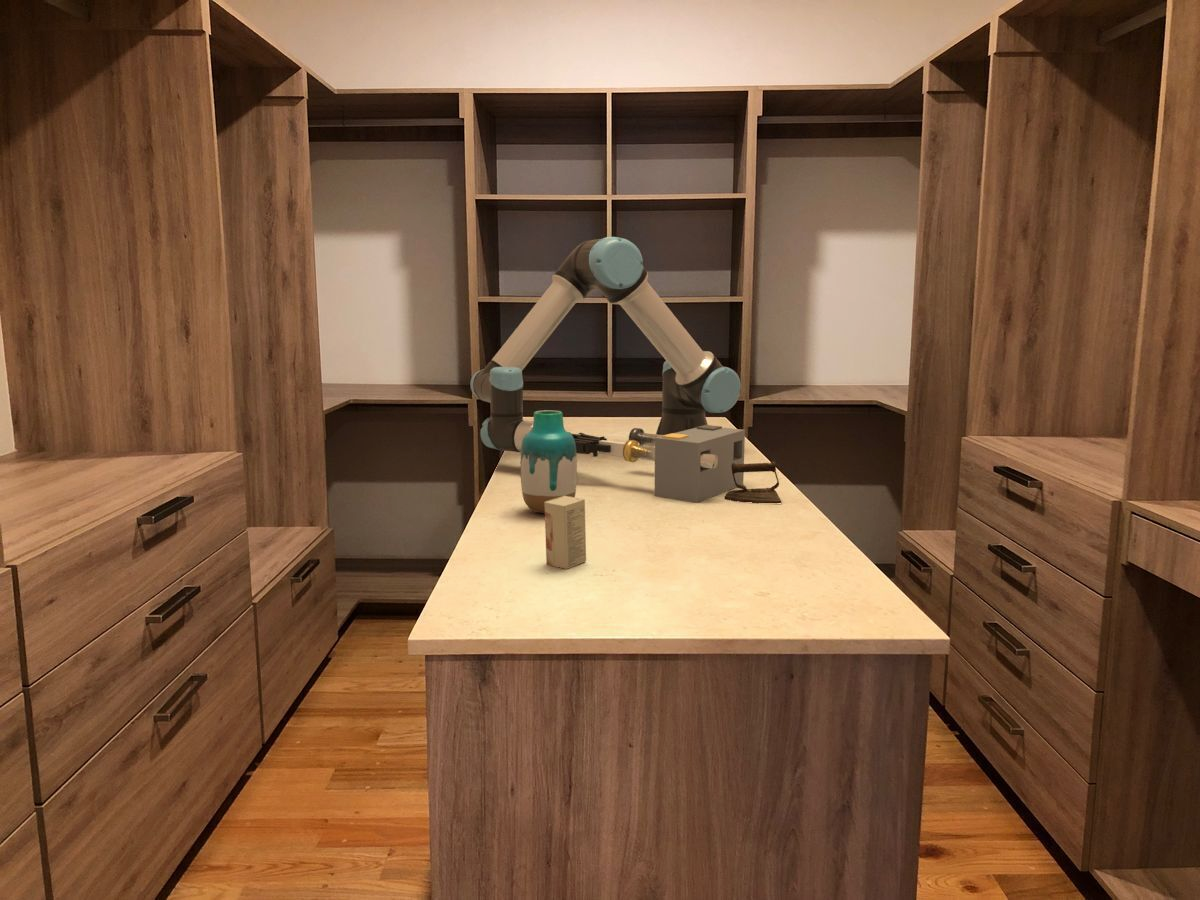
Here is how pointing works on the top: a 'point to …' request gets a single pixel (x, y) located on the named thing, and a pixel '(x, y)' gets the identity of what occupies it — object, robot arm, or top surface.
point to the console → (697, 462)
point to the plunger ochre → (635, 452)
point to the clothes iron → (755, 494)
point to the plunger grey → (643, 437)
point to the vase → (547, 461)
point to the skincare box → (565, 531)
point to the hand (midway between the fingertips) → (625, 449)
